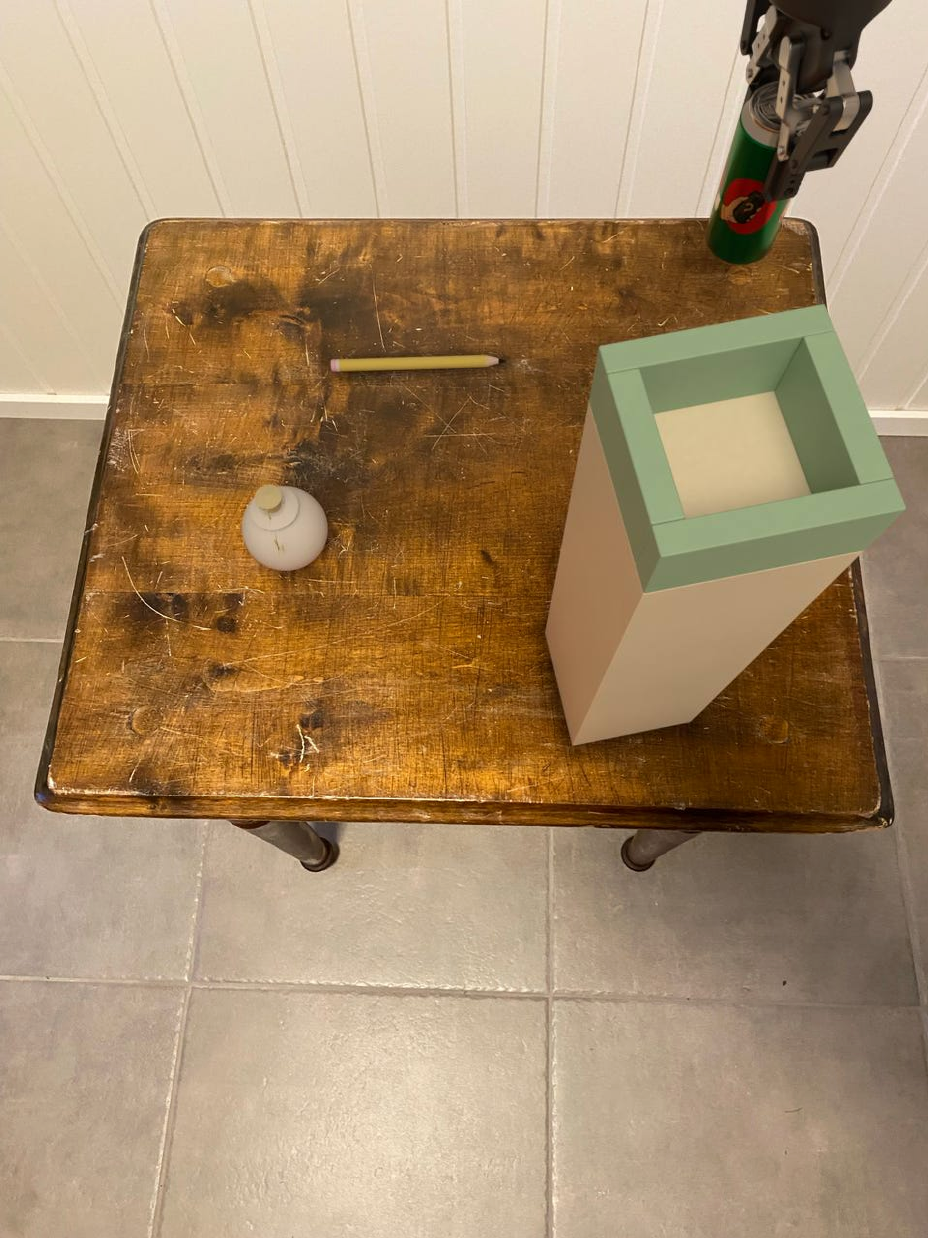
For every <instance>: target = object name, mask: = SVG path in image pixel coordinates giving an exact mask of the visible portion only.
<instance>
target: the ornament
mask: <svg viewBox="0 0 928 1238" xmlns="http://www.w3.org/2000/svg"><path fill="white" fill-rule="evenodd" d="M328 531H329V526H328V519H327V516H326V513H325V511H324V509H323V507H322V505H321V504H320V502H319V501H318V500H317V499H316V498H315V497H314V496H313V495H311V494H310V493H308V492H307V491H305V490H303V489H301V488H298V487H295V486H289V485H279V486H278V485H274V484H264V485H262V486H260V487H258V489H257V490H256V492H255V494H254V497H253V499H252V500H251V501H250V502H249V504H248V505H247V506H246V509H245V510H244V512H243V515H242V519H241V536H242V540H243V543H244V545H245V547H246V549H247V550H248V552H249V554H251V556H252V557H253V558H254V559H255V560H256V561H257V562H258V563H260V564H261V565H263V566H264V567H267V568H269V569H272V570H276V571H282V572H290V571H296V570H298V569H303V568H304V567H306V566H308V565H310V564H312V562H313V561H315V560H316V559H317V558H318V557H319V556H320V554H321V553H322V551H323V550H324V548H325V546H326V542H327V539H328V534H329V533H328Z"/></svg>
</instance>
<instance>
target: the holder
mask: <svg viewBox="0 0 928 1238" xmlns="http://www.w3.org/2000/svg"><path fill="white" fill-rule="evenodd" d="M587 402H588V403H587V408H586V413H585V419H584V423H583V424H584V425H583V428H582V429H583V430H582V435H581V439H580V445H579V451H578V456H577V462H576V466H575V472H574V478H573V482H572V486H571V493H570V499H569V503H568V509H567V514H566V519H565V525H564V529H563V536H562V541H561V546H560V552H559V557H558V562H557V568H556V573H555V579H554V583H553V589H552V595H551V599H550V605H549V609H548V616H547V621H546V625H545V626H546V627H545V631H544V634H545V639H546V642H547V646H548V651H549V654H550V660H551V664H552V668H553V671H554V675H555V679H556V684H557V688H558V692H559V697H560V700H561V704H562V705H561V706H562V709H563V713H564V717H565V721H566V725H567V731H568V735H569V739H570V742H571V746H573V747H575V746H579V745H584V744H588V743H589V744H590V743H593V742H598V741H604V740H609V739H612V738H617V737H622V736H629V735H633V734H638V733H643V732H647V731H652V730H657V729H662V728H668V727H672V726H677V725H681V724H682V725H683V724H687V723H691V722H692V721H693V720H694V719H695V718H697V716H698V715H699V714H700V713H701V712H702V711H704V710H705V708H706V707H707V706H708V705H709V704H711V702H712V701H713V700H715V698H716V697H717V696H718V695H719V694H720V693H721V692H722V691H723V690H725V689H726V688H727V687H728V686H729V684H730V683H732V682H733V680H734V679H736V678H737V677H738V676H739V675H740V674H741V673H742V672H743V671H744V670H745V669H746V668H747V667H748V666H749V665H750V664H751V663H752V662H753V661H754V660H755V659H756V658H757V657H758V656H759V655H760V654H761V653H762V652H764V650H765V649H766V648H767V647H768V646H769V645H770V644H771V643H772V642H773V641H774V640H775V639H776V638H777V637H778V636H779V635H781V633H782V632H783V631H784V630H785V629H786V628H787V627H788V626H789V625H790V624H791V623H792V622H793V621H794V620H795V619H796V618H798V617H799V616H800V615H801V614H802V613H803V612H804V610H806V608H807V607H809V606H810V604H812V603H813V602H814V601H815V600H816V599H817V598H818V597H819V596H820V595H821V594H822V593H823V592H824V591H825V590H827V588H828V587H829V586H830V585H831V584H832V583H833V582H834V581H835V580H836V579H837V578H838V577H839V576H840V575H841V574H842V573H843V572H845V570H846V569H848V567H849V566H850V565H851V564H853V562H854V561H855V560H856V559H857V558H858V557H859V556H861V554H863V552H865V550H866V549H867V548H868V547H870V546H871V545H872V544H873V543H874V542H875V541H876V540H877V539H878V538H879V537H880V536H881V535H882V534H883V533H884V532H885V531H886V530H887V529H888V527H890V526H891V525H892V524H894V522H895V521H896V520H897V519H898V518H899V517H900V516H901V515H902V514H903V513H904V512H905V511H906V510H907V505H906V503H905V501H904V499H903V496H902V493H901V491H900V489H899V488H900V487H899V486H898V483H897V481H896V479H895V475H894V473H893V471H892V470H893V469H892V468H891V465H890V463H889V461H888V458H887V455H886V453H885V451H884V447H883V445H882V442H881V441H880V438H879V436H878V433H877V430H876V428H875V425H874V423H873V421H872V418H871V416H870V413H869V411H868V408H867V406H866V403H865V401H864V398H863V396H862V393H861V390H860V388H859V386H858V384H857V381H856V377H855V376H854V373H853V371H852V368H851V366H850V363H849V361H848V358H847V356H846V353H845V351H844V349H843V346H842V343H841V341H840V338H839V336H838V333H837V331H836V330H835V327H834V324H833V321H832V319H831V317H830V314H829V312H828V309H827V306H826V304H824V303H821V304H816V305H810V306H806V307H805V306H804V307H800V308H794V309H788V310H784V311H778V312H772V313H768V314H767V313H766V314H762V315H758V316H752V317H747V318H740V319H736V320H731V321H725V322H719V323H714V324H709V325H704V326H698V327H694V328H687V329H682V330H677V331H672V332H666V333H661V334H655V335H650V336H645V337H640V338H634V339H629V340H624V341H618V342H612V343H607V344H602V345H599V346H598V349H597V355H596V361H595V366H594V371H593V375H592V382H591V387H590V392H589V398H588V401H587Z"/></svg>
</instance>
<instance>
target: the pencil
mask: <svg viewBox="0 0 928 1238" xmlns="http://www.w3.org/2000/svg"><path fill="white" fill-rule="evenodd" d="M507 361H508V360H507V359H503V358H499V357H496V356H491V355H489V354H471V355H470V354H469V355H441V356H440V355H439V356H407V357H406V356H405V357H371V358H370V357H369V358H368V357H367V358H366V357H365V358H335V359H332V358H331V359H330V370H331V372H332V373H342V372H374V371H375V372H376V371H377V372H378V371H408V370H409V371H410V370H414V371H415V370H442V369H443V370H445V369H448V370H449V369H478V368H490V367H493V366H495V365H498V364H501V363H505V362H507Z"/></svg>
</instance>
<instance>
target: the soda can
mask: <svg viewBox="0 0 928 1238" xmlns="http://www.w3.org/2000/svg"><path fill="white" fill-rule="evenodd" d="M779 82H780V81H772V82H769V83H766V84H764V85H762V86H761V87H759V88H758V89H757V90H756V91H755V92H754V93H753V95H752V97H751V99H750V100H748V101H747V102H746V103H745V105H744V106H743V105H742V106H743V108H742V107H741V109H742V110H740V113H739V117H738V120H737V123H736V127H735V129H734V133H733V136H732V140H731V143H730V146H729V151H728V153H727V157H726V160H725V164H724V167H723V171H722V174H721V178H720V181H719V184H718V188H717V192H716V194H715V198H714V202H713V205H712V208H711V209H712V210H711V212H710V215H709V219H708V222H707V226H706V228H705V233H704V234H705V235H704V239H705V243H706V246H707V248H708V249H709V251H710V252H711V253H712V255H714V257H715V258H717V259H718V260H720V261H721V262H723V263H726V264H728V265H733V266H746V265H751V264H754V263H757V262H759V261H761V260H763V259H764V258H765V257H766V256H768V254H769V253H770V252H771V249H772V248H773V245H774V243H775V240H776V238H777V236H778V233H779V230H780V228H781V225H782V223H783V221H784V217H785V215H786V213H787V211H788V208H789V205H790V202H791V200H792V198H789V199H785V200H780V201H775V202H769V203H768V202H765V200H764V198H763V195H762V193H761V191H762V188H763V185H764V182H765V179H766V176H767V173H768V170H769V168H770V165H771V162H772V159H773V156H774V153H775V151H776V150H777V146H778V140H779V133H780V127H781V119H780V118H779V117H778V116H777V115H776V113H775V109H776V102H777V96H778V89H779ZM815 97H817V96H816V94H815V93H810V94H804V95H796V94H795V97H794V101H799V100H805V99H810V98H815ZM810 121H811V120H806V121H802V122H800V123H799V124H798V125H797V127H796V133H795V137H799V136H802V135H803V134H804V132H805V130H806V128H807V127H808V125H809V123H810Z"/></svg>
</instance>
